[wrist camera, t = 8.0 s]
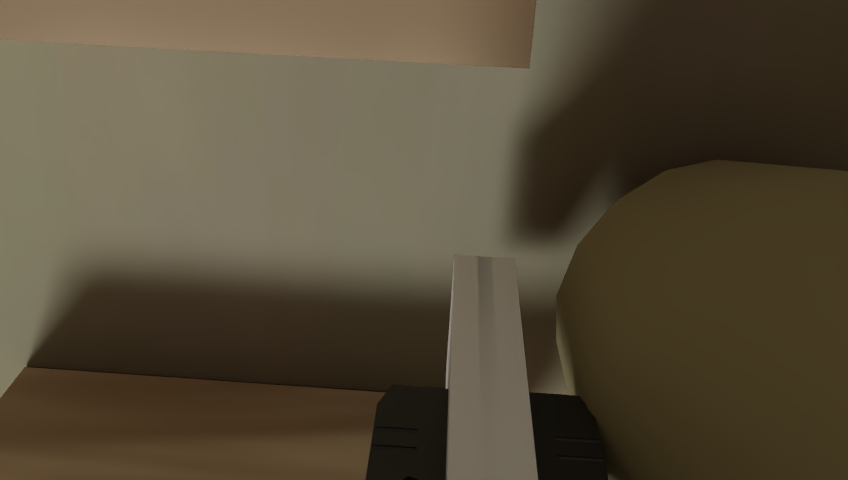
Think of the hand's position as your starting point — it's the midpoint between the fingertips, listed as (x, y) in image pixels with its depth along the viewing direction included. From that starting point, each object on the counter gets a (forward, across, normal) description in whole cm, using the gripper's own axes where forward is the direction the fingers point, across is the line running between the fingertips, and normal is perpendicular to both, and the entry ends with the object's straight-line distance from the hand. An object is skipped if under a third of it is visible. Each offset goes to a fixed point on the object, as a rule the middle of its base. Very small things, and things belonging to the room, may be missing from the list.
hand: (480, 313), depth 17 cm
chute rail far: (+2, -6, -5) cm, 8 cm away
